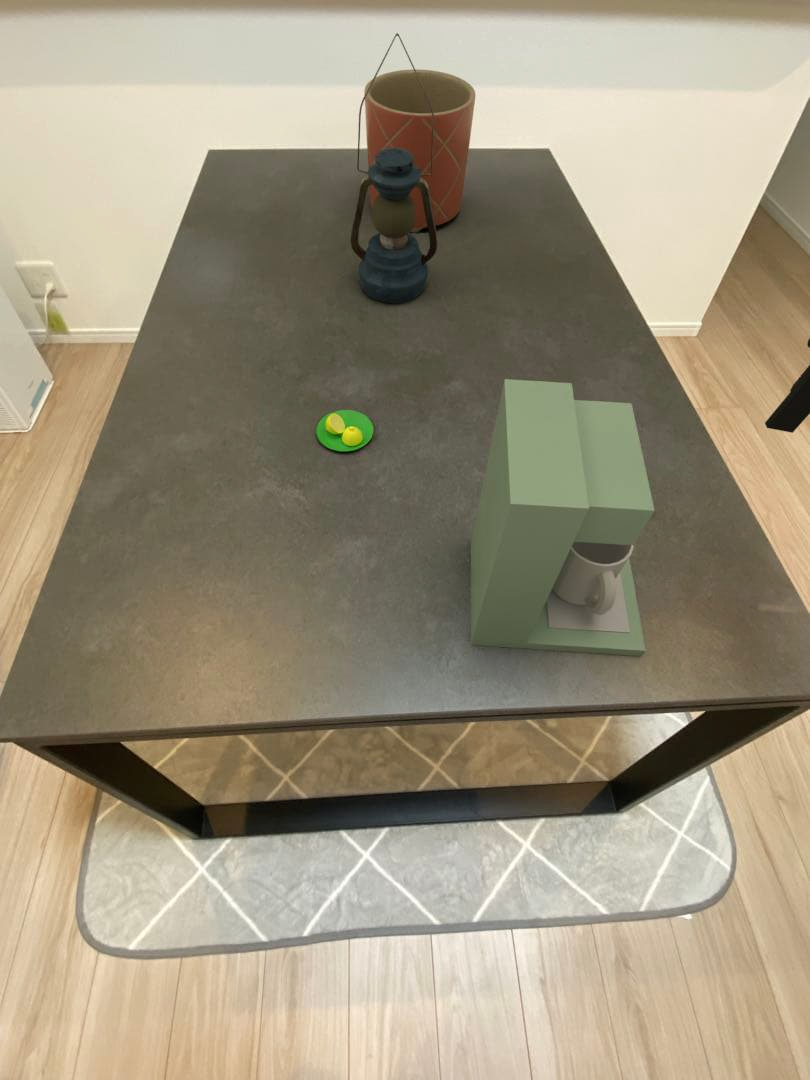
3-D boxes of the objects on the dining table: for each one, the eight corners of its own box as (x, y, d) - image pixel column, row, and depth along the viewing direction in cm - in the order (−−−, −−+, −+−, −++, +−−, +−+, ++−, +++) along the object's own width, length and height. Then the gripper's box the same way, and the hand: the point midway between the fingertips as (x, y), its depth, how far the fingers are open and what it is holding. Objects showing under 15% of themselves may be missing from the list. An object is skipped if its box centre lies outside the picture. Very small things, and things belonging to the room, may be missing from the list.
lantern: (349, 303, 101) (333, 47, 72) (356, 263, 108) (345, 14, 79) (432, 308, 101) (451, 53, 72) (435, 268, 108) (452, 20, 79)
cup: (596, 550, 72) (620, 506, 65) (625, 625, 67) (654, 585, 60) (538, 557, 72) (556, 513, 64) (563, 633, 66) (585, 594, 59)
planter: (412, 246, 112) (416, 125, 95) (347, 205, 119) (341, 86, 103) (483, 213, 119) (498, 94, 102) (418, 176, 127) (423, 60, 110)
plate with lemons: (310, 449, 83) (308, 435, 80) (324, 409, 87) (322, 394, 85) (367, 458, 82) (366, 443, 80) (378, 417, 87) (378, 402, 84)
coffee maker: (623, 551, 75) (718, 391, 53) (641, 656, 67) (762, 519, 45) (470, 541, 75) (504, 378, 53) (470, 645, 67) (510, 503, 46)
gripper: (1234, 375, 31) (901, 597, 47) (977, 181, 47) (794, 398, 63) (1106, 348, 30) (813, 582, 47) (889, 160, 46) (727, 385, 62)
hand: (802, 477), depth 55 cm, fingers open, 13 cm apart
